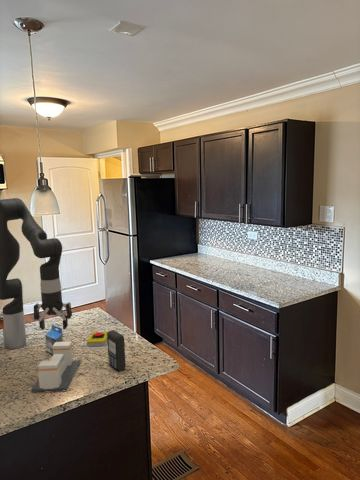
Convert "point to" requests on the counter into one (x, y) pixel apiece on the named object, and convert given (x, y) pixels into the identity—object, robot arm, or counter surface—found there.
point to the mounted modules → (55, 366)
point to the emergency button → (97, 340)
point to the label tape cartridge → (53, 338)
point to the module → (61, 358)
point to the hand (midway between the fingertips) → (54, 328)
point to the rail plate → (65, 379)
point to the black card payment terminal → (116, 350)
